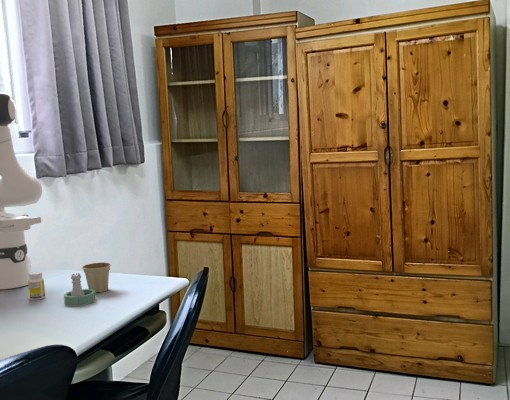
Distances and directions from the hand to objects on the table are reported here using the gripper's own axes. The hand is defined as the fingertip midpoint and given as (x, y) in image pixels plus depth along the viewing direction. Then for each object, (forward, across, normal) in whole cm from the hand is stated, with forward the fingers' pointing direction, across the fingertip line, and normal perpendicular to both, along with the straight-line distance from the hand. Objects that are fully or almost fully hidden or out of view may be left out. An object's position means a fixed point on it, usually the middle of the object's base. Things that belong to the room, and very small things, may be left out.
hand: (33, 218), depth 174 cm
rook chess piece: (+12, +1, +28) cm, 30 cm away
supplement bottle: (+5, +16, +28) cm, 33 cm away
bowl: (+12, 0, +28) cm, 31 cm away
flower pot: (+22, +8, +28) cm, 37 cm away
